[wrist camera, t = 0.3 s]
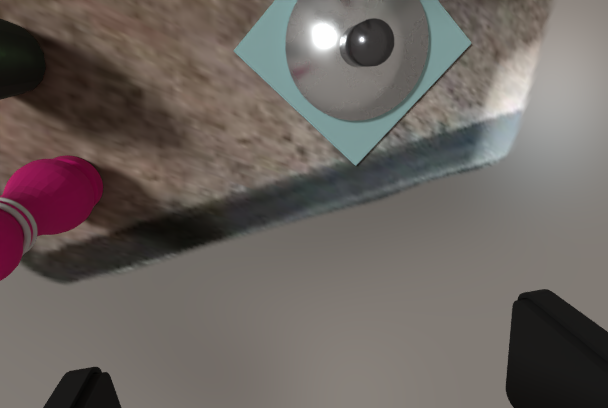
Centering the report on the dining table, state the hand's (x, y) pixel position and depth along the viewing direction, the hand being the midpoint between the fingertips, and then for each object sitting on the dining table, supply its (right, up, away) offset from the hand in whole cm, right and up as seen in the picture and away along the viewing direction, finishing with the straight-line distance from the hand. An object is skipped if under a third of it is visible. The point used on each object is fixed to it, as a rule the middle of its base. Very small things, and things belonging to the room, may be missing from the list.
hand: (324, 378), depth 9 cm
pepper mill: (-25, +6, +32) cm, 42 cm away
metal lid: (+5, +20, +31) cm, 37 cm away
